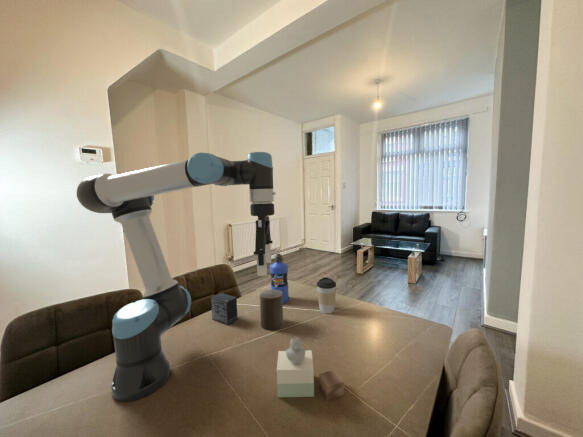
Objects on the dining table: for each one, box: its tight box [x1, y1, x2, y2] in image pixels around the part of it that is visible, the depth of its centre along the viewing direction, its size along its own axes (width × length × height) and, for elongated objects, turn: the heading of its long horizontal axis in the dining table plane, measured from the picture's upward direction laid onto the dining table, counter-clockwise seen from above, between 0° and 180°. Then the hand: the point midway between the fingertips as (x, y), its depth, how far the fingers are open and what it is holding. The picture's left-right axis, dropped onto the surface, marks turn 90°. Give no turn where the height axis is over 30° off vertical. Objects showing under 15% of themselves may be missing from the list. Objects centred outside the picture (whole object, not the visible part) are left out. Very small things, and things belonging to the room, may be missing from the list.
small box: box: [210, 292, 239, 326], centre depth 109 cm, size 11×6×10 cm, turn 58°
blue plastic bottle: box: [269, 253, 290, 305], centre depth 125 cm, size 9×9×25 cm
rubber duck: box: [285, 335, 305, 364], centre depth 69 cm, size 5×7×8 cm
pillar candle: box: [259, 289, 284, 331], centre depth 103 cm, size 10×10×15 cm
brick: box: [318, 369, 345, 401], centre depth 67 cm, size 5×5×4 cm
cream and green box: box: [276, 350, 315, 398], centre depth 69 cm, size 10×8×8 cm
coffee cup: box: [316, 276, 337, 314], centre depth 114 cm, size 9×9×15 cm
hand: (265, 268), depth 78 cm, fingers open, 13 cm apart
